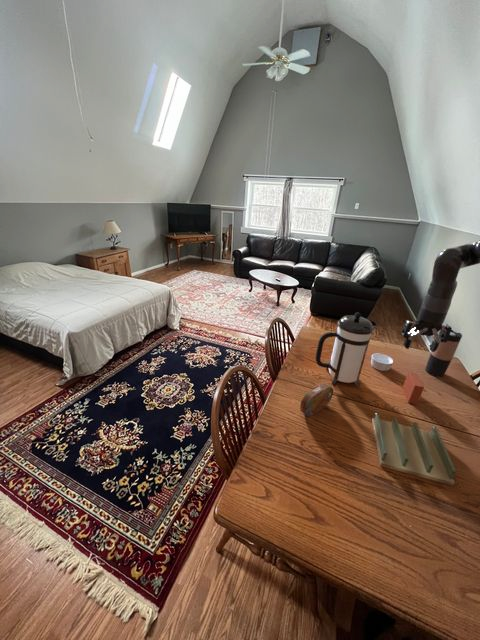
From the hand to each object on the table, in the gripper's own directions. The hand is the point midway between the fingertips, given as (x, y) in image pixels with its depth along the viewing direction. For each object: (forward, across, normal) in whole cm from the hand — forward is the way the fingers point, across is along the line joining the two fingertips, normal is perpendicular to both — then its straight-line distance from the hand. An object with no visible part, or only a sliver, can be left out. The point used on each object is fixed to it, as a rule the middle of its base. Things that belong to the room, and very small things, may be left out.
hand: (419, 349), depth 97 cm
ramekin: (+20, -4, +18) cm, 27 cm away
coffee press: (+20, -23, +4) cm, 31 cm away
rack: (+20, -8, -28) cm, 35 cm away
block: (+20, +2, -1) cm, 20 cm away
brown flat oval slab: (+20, -35, -17) cm, 44 cm away
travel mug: (+20, +20, +19) cm, 34 cm away
